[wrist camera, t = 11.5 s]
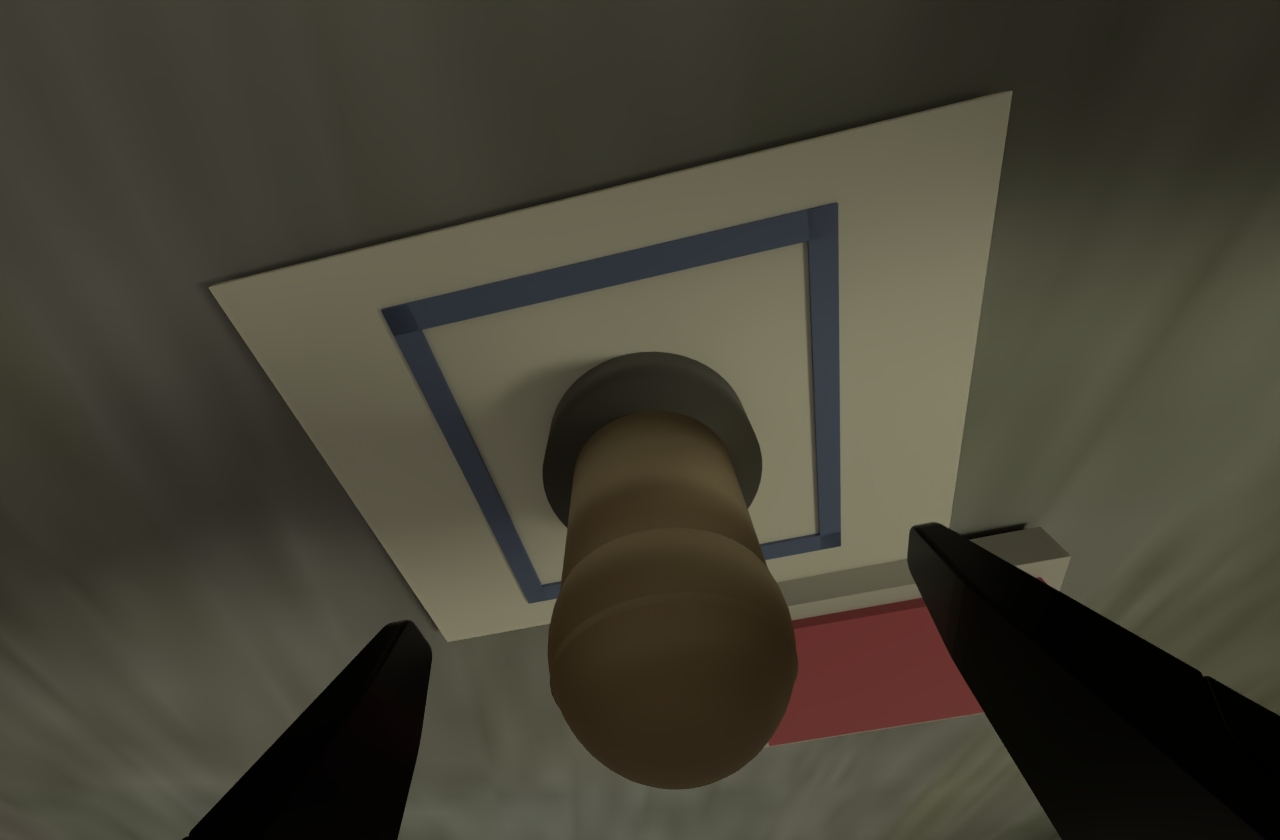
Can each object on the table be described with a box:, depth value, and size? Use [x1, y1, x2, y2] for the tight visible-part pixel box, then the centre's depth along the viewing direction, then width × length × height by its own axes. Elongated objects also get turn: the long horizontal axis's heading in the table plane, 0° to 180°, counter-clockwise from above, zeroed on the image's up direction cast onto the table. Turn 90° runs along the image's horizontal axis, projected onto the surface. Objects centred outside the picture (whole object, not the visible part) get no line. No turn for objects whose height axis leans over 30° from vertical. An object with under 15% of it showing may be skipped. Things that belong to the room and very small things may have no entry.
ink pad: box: [764, 527, 1071, 748], centre depth 17 cm, size 10×8×2 cm
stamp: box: [542, 352, 798, 789], centre depth 9 cm, size 5×5×8 cm
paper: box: [208, 91, 1013, 642], centre depth 13 cm, size 16×12×1 cm
